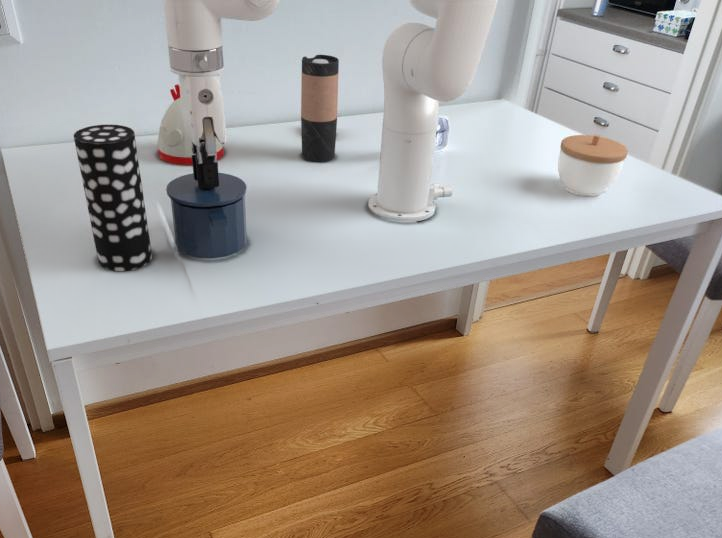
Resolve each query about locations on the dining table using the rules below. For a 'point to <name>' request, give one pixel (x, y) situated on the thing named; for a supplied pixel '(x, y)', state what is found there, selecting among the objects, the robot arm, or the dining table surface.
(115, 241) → the spotted tube
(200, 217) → the pot
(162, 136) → the kitchen timer
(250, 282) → the dining table surface
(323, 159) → the travel mug
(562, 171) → the lidded bowl
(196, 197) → the lid
